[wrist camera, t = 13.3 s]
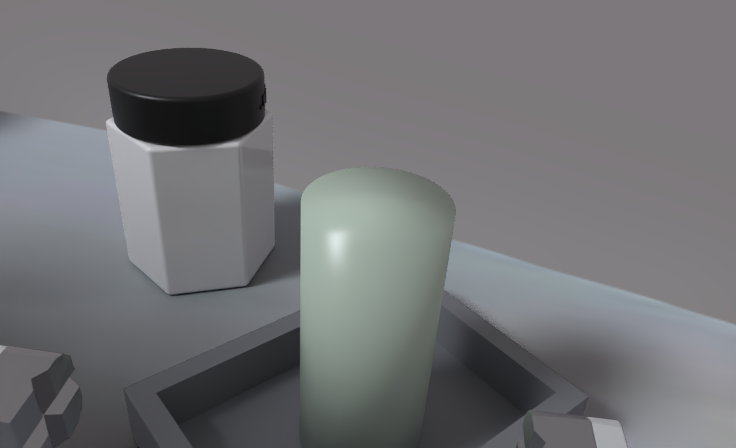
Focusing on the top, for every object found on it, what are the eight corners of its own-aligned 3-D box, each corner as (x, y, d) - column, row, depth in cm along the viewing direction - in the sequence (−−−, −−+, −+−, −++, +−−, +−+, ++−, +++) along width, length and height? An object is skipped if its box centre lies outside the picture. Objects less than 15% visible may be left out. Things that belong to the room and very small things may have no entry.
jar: (300, 260, 41) (301, 78, 34) (187, 317, 35) (163, 115, 29) (218, 204, 46) (205, 36, 39) (109, 247, 41) (74, 61, 34)
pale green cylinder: (349, 509, 26) (367, 266, 19) (276, 422, 29) (270, 191, 23) (444, 442, 29) (487, 214, 22) (368, 370, 32) (386, 154, 26)
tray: (277, 681, 21) (276, 634, 19) (133, 437, 29) (123, 388, 27) (572, 442, 30) (588, 396, 28) (401, 305, 37) (406, 262, 36)
